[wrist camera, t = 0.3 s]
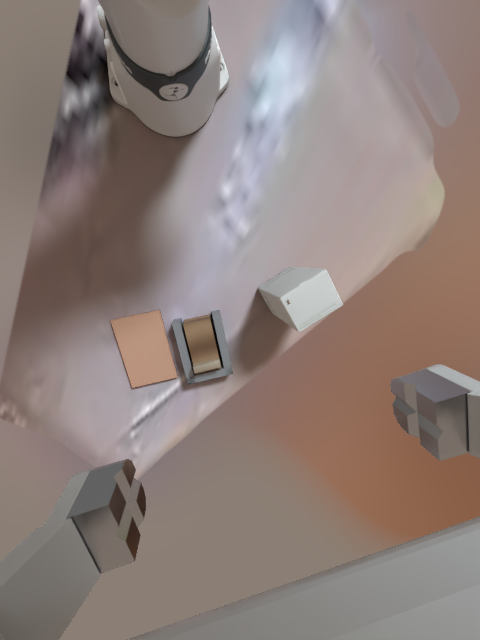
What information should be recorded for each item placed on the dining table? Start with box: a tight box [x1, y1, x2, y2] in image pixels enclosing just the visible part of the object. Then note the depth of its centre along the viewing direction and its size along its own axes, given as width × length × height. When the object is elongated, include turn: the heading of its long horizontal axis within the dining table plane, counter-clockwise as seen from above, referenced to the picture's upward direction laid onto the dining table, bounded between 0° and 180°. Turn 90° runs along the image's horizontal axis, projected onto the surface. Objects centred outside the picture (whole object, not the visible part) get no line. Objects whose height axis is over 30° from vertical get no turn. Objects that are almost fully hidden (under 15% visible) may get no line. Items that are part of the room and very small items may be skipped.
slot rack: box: [172, 310, 233, 384], centre depth 55 cm, size 12×9×3 cm
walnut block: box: [183, 314, 221, 374], centre depth 54 cm, size 10×5×6 cm, turn 11°
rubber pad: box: [111, 310, 178, 388], centre depth 54 cm, size 14×9×1 cm, turn 11°
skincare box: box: [258, 267, 343, 332], centre depth 48 cm, size 8×7×16 cm
